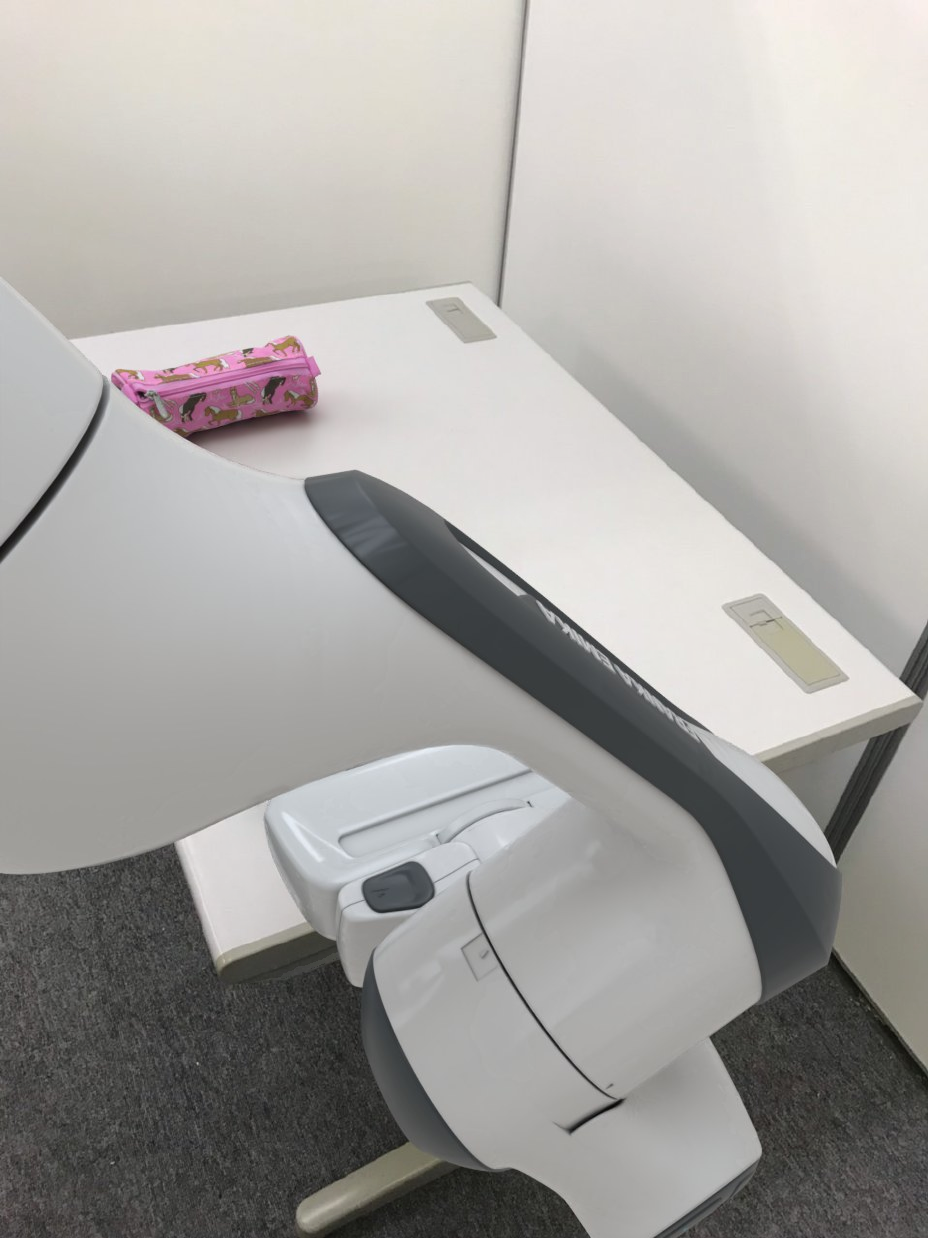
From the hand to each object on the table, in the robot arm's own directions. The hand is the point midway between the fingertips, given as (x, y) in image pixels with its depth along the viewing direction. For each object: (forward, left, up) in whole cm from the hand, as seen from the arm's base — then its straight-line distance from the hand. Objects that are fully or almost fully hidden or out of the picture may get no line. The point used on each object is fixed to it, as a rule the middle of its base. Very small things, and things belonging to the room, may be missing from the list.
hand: (403, 702), depth 57 cm
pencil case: (-11, +59, -16) cm, 62 cm away
